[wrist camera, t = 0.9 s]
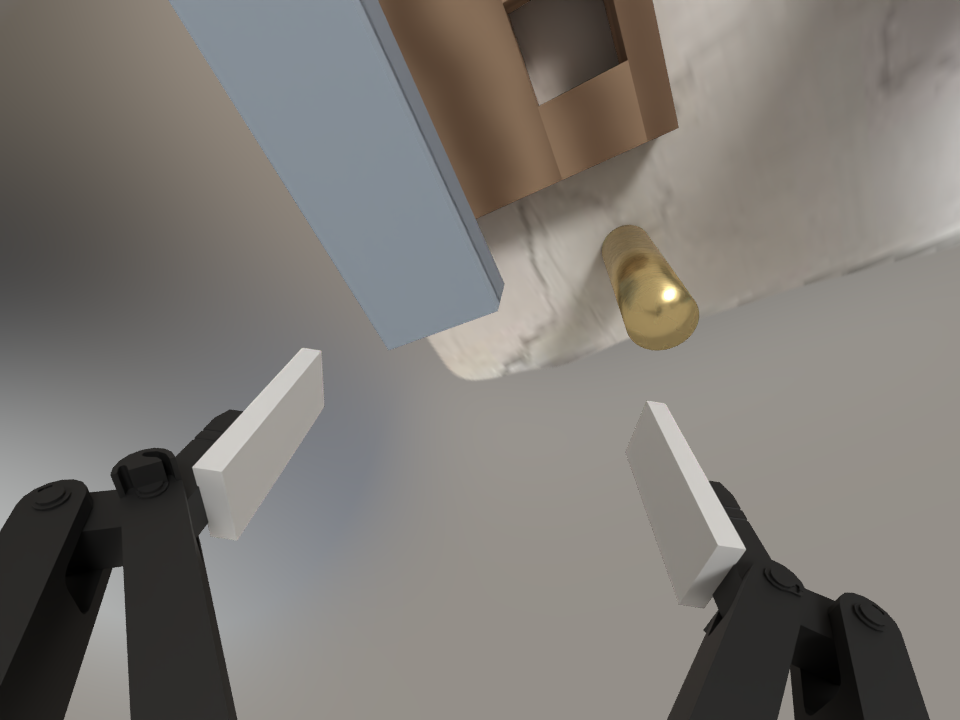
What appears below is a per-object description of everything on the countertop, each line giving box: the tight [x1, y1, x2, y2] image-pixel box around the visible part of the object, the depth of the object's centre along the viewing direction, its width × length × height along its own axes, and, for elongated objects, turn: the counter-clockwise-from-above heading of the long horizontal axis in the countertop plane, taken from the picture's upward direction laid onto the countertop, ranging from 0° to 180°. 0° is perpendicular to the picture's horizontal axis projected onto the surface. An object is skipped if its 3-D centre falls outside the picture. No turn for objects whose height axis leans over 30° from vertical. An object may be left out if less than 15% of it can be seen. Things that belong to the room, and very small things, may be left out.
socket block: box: [378, 0, 679, 219], centre depth 29 cm, size 18×16×4 cm
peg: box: [602, 225, 699, 350], centre depth 30 cm, size 4×4×14 cm
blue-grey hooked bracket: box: [169, 0, 504, 350], centre depth 26 cm, size 7×22×16 cm, turn 25°
